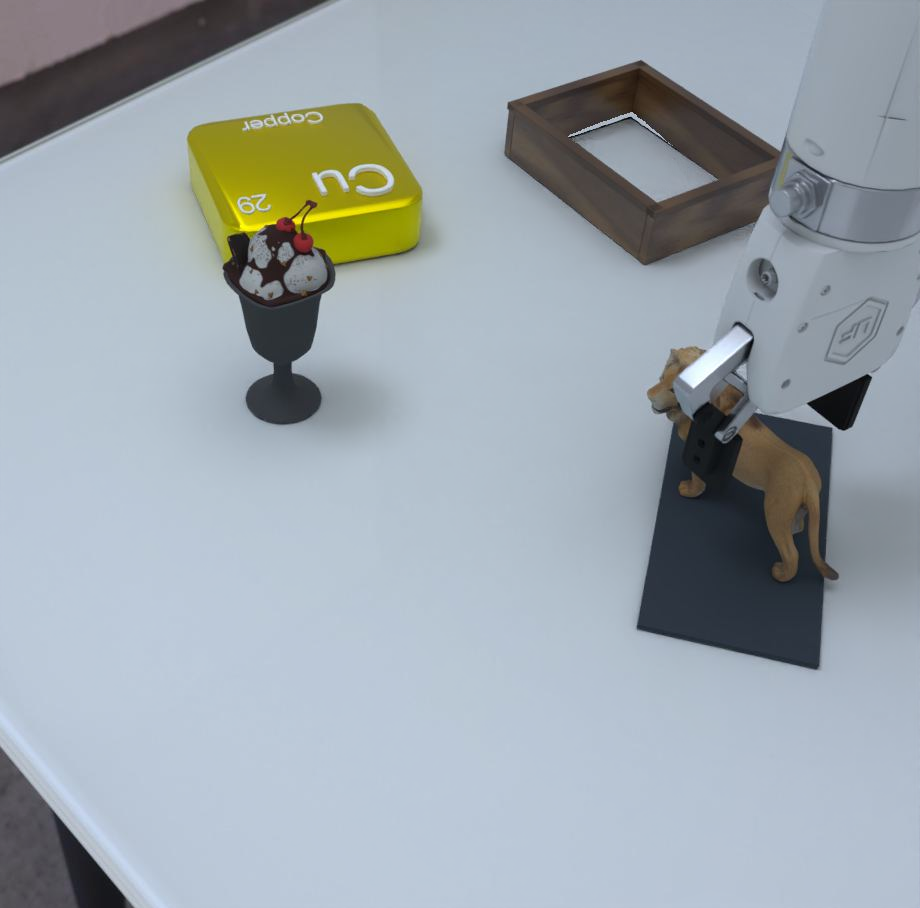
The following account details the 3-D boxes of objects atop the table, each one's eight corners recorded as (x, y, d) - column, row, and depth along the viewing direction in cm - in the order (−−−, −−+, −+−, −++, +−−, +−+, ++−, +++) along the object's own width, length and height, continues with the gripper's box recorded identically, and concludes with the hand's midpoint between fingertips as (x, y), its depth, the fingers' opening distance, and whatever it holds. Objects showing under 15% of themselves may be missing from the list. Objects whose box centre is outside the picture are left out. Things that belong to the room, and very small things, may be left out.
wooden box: (631, 110, 112) (641, 59, 109) (779, 212, 102) (795, 160, 99) (501, 154, 107) (507, 101, 103) (644, 266, 97) (655, 212, 93)
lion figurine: (615, 467, 82) (641, 355, 75) (671, 430, 84) (700, 318, 78) (808, 607, 74) (855, 496, 68) (863, 562, 77) (913, 451, 70)
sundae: (354, 408, 85) (359, 210, 74) (266, 446, 83) (256, 247, 72) (301, 353, 89) (297, 156, 78) (214, 388, 86) (197, 189, 75)
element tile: (366, 146, 107) (367, 91, 103) (428, 250, 97) (431, 194, 94) (185, 173, 103) (180, 118, 100) (231, 284, 94) (227, 227, 90)
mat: (677, 401, 87) (678, 397, 86) (831, 432, 85) (832, 427, 85) (636, 628, 74) (637, 624, 73) (817, 669, 72) (819, 665, 72)
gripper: (780, 278, 57) (697, 545, 69) (1040, 168, 63) (921, 430, 76) (664, 194, 61) (607, 460, 73) (920, 99, 67) (826, 358, 80)
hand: (767, 445), depth 75 cm, fingers open, 9 cm apart
